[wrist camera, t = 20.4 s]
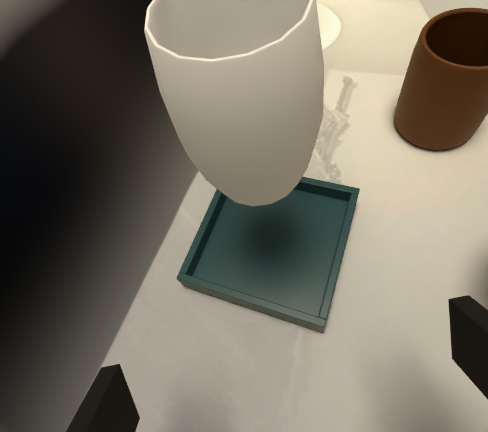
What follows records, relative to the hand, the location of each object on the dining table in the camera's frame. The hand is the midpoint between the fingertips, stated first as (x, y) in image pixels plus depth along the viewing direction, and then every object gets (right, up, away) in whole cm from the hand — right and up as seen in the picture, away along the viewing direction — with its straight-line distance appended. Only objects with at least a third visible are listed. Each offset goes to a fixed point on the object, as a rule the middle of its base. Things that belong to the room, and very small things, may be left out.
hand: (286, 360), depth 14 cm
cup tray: (+1, +3, +17) cm, 18 cm away
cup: (+1, +3, +17) cm, 17 cm away
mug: (+19, +16, +22) cm, 33 cm away
